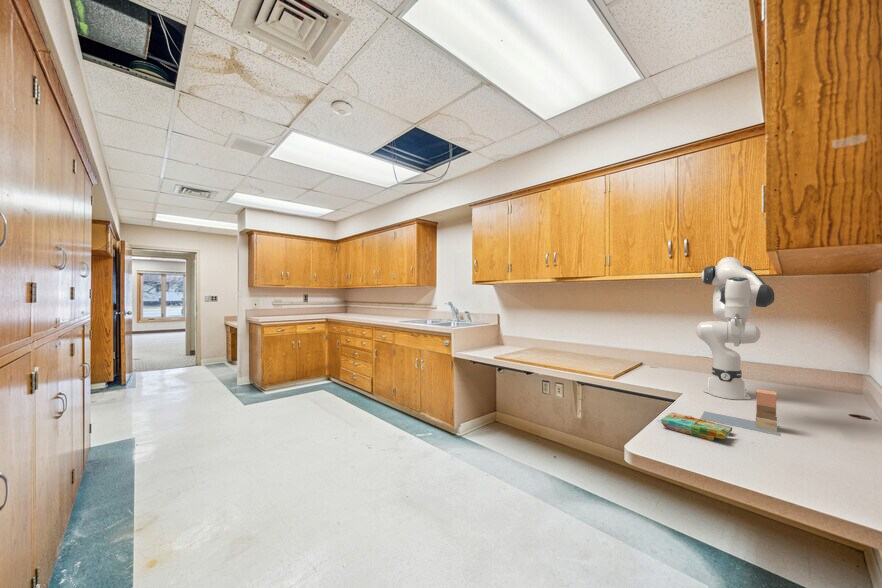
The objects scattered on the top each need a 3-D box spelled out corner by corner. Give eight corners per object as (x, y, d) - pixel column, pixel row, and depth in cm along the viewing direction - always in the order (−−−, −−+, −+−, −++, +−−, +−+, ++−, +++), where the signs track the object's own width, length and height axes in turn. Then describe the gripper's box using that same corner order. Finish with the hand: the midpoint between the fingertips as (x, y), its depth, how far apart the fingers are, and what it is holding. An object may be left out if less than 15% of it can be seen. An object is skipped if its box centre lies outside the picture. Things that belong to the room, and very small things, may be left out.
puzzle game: (670, 410, 143) (732, 424, 128) (670, 421, 143) (732, 437, 128) (661, 417, 136) (725, 433, 120) (661, 428, 136) (725, 446, 120)
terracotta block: (756, 401, 137) (757, 389, 137) (776, 404, 133) (776, 391, 133) (756, 404, 133) (756, 391, 133) (776, 407, 130) (776, 394, 130)
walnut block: (756, 413, 137) (757, 401, 137) (775, 417, 134) (776, 404, 134) (756, 417, 133) (756, 404, 133) (776, 420, 130) (776, 407, 130)
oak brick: (756, 423, 138) (756, 413, 138) (776, 427, 133) (776, 417, 133) (755, 427, 133) (755, 417, 133) (776, 431, 129) (777, 421, 129)
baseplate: (704, 413, 151) (704, 411, 151) (780, 429, 135) (780, 426, 135) (699, 421, 142) (699, 419, 142) (780, 439, 125) (780, 436, 125)
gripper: (745, 315, 140) (745, 348, 140) (748, 313, 154) (748, 343, 154) (726, 314, 144) (725, 347, 144) (730, 312, 159) (730, 342, 159)
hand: (737, 345), depth 150 cm, fingers open, 8 cm apart
